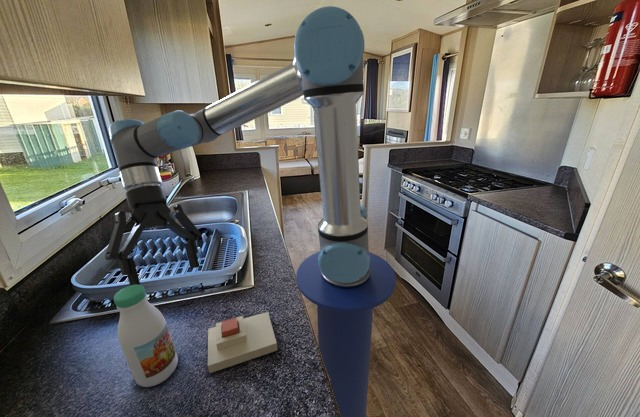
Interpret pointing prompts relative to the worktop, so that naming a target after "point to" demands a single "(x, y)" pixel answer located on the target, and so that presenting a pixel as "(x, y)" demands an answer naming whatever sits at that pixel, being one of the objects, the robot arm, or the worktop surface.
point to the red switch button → (229, 327)
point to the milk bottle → (144, 337)
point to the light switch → (240, 342)
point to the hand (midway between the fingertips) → (168, 277)
